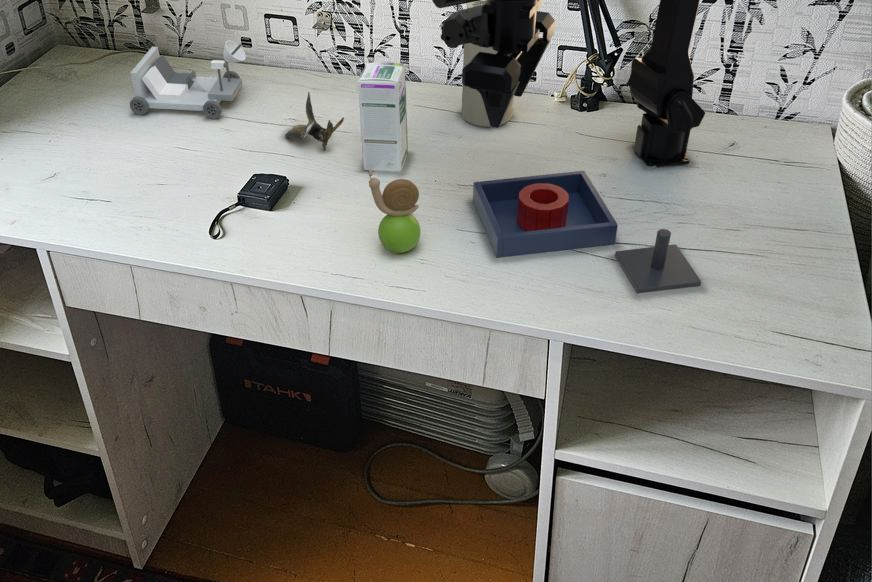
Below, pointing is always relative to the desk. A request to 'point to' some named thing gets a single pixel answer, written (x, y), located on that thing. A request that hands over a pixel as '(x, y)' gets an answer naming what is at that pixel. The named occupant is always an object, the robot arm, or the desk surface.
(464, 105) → the travel mug
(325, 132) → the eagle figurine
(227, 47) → the toy buggy
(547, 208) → the ring
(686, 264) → the ring stand
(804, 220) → the desk surface
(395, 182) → the snail figurine
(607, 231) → the box
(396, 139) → the syrup box
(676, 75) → the robot arm
